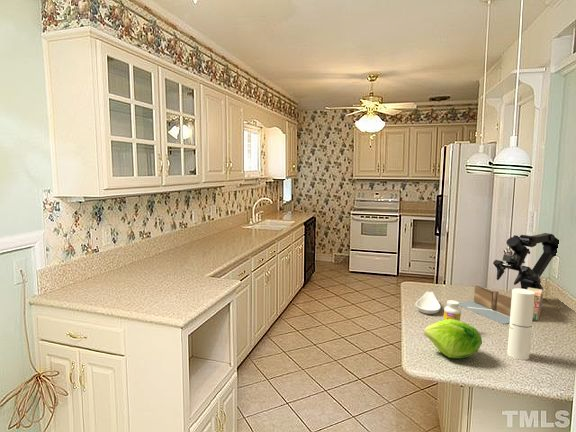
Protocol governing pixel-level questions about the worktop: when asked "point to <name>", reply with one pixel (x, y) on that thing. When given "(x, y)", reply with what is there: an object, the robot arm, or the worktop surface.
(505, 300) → the fence post and fixed panel
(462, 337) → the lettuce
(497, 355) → the worktop surface
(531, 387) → the worktop surface
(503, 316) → the card
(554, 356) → the worktop surface
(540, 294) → the stack of blocks
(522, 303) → the cylindrical container
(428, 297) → the spoon rest
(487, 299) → the wooden board
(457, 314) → the supplement bottle
